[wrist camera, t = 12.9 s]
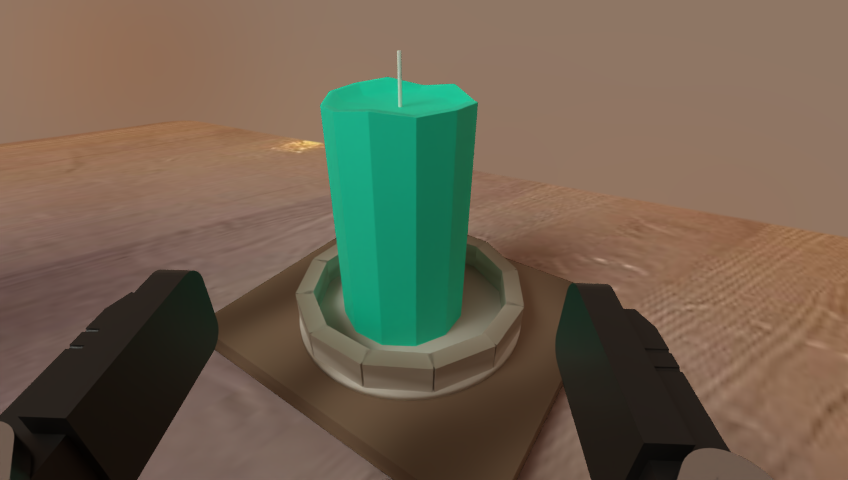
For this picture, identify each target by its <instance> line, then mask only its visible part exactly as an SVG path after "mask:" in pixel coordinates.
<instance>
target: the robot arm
mask: <svg viewBox="0 0 848 480" xmlns="http://www.w3.org/2000/svg"><path fill="white" fill-rule="evenodd" d="M218 334H219V327H218V321H217V318H216V315H215V313H214V310H213V307H212V304H211V301H210V298H209V295H208V292H207V289H206V287H205V284H204V281H203V278H202V276H201V275H200V274H199V273H198V272H197V271H187V270H157V271H155V272H154V273H153V274H152V275H151V276H150V277H149V278H148V279H147V280H146V281H145V282H144V283H143V284H142V285H141V286H140V287H139V288H138V289H137V290H136V291H135V293H133V292H131V293H129V294H128V295H126V296H125V297H123V298H122V299H120V300H118V301H117V302H115V303H114V304H112V305H110V306H109V307H107V308H106V309H104V310H103V311H102V313H101V314H100V315H99V316H98V317H97V318H96V319H95V320H94V321H93V322H92V323H91V324H90V325H89V326H88V327H87V328H86V332H82V333H81V334H80V335H79V336H78V337H77V338H76V339H75V340H74V341H73V342H72V343H71V344H70V348H69V349H65V350H64V351H63V352H62V353H61V354H60V355H59V356H58V357H57V358H56V359H55V360H54V361H53V362H52V363H51V364H50V365H49V366H48V367H47V368H46V369H45V370H44V371H43V372H42V373H41V374H40V375H39V376H38V377H37V378H36V379H35V380H34V381H33V382H32V383H31V385H30V386H29V387H28V388H27V389H26V390H25V391H24V392H23V393H22V394H21V395H20V396H19V397H18V398H17V399H16V400H15V401H14V402H13V403H12V404H11V405H10V406H9V407H8V408H7V409H6V410H5V411H4V412H3V413H2V414H1V415H0V480H137V479H138V477H139V476H140V474H141V472H142V470H143V469H144V467H145V465H146V464H147V462H148V460H149V459H150V457H151V455H152V454H153V452H154V450H155V449H156V447H157V445H158V444H159V442H160V440H161V439H162V437H163V435H164V433H165V432H166V430H167V428H168V427H169V425H170V423H171V422H172V420H173V418H174V417H175V415H176V413H177V412H178V410H179V408H180V407H181V405H182V403H183V402H184V400H185V398H186V396H187V395H188V393H189V391H190V390H191V388H192V386H193V385H194V383H195V381H196V380H197V378H198V376H199V375H200V373H201V371H202V370H203V368H204V366H205V365H206V363H207V361H208V359H209V358H210V356H211V354H212V353H213V351H214V349H215V347H216V344H217V340H218ZM555 353H556V360H557V364H558V368H559V371H560V375H561V378H562V381H563V385H564V388H565V392H566V395H567V399H568V402H569V405H570V409H571V412H572V416H573V419H574V422H575V426H576V429H577V433H578V436H579V439H580V443H581V446H582V450H583V453H584V457H585V460H586V463H587V467H588V470H589V474H590V477H591V480H774V479H773V478H772V477H770V476H769V475H768V474H767V473H766V472H765V471H763V470H762V469H761V468H759V467H758V466H756V465H755V464H753V463H752V462H750V461H748V460H747V459H745V458H743V457H741V456H739V455H737V454H734V453H731V451H730V450H729V449H728V447H727V446H726V444H725V442H724V441H723V439H722V437H721V436H720V434H719V432H718V431H717V429H716V427H715V426H714V424H713V422H712V421H711V419H710V417H709V416H708V414H707V412H706V411H705V409H704V407H703V406H702V404H701V402H700V401H699V399H698V397H697V396H696V394H695V392H694V390H693V389H692V387H691V385H690V384H689V382H688V380H687V379H686V377H685V375H684V374H683V372H680V370H679V368H680V367H679V365H678V364H677V362H676V360H675V359H674V357H673V355H672V354H671V353H669V349H668V347H667V345H666V344H665V342H664V340H663V339H662V337H661V335H660V334H659V332H658V330H657V328H656V327H655V326H654V325H652V324H651V323H650V322H649V321H648V320H647V319H646V318H644V317H643V316H642V315H641V314H640V313H639V312H638V311H636V310H635V309H623V307H622V306H621V304H620V302H619V300H618V298H617V296H616V294H615V292H614V291H613V289H612V287H611V286H610V285H608V284H586V283H571V284H570V285H569V287H568V290H567V293H566V297H565V301H564V305H563V309H562V313H561V317H560V321H559V325H558V329H557V333H556V339H555Z"/></svg>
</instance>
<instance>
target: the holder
mask: <svg viewBox="0 0 848 480" xmlns="http://www.w3.org/2000/svg"><path fill="white" fill-rule="evenodd" d="M571 283H573V282H570V281H568V280H565V279H562V278H559V277H557V276H554V275H551V274H548V273H546V272H543V271H540V270H537V269H534V268H532V267H529V266H526V265H523V264H521V263H518V262H515V261H512V260H510V259H507V258H504V257H503V256H502V255H501V254H500V253H499V252H498V251H496V250H495V249H494V248H493V247H492V246H491V245H490V244H489V243H488V242H486V241H483V240H480V239H477V238H475V237H472V236H469V235H467V246H466V259H465V271H464V284H463V297H462V309H461V316H460V318H459V319H458V320H457V321H456V323H455V324H454V325H453V326H452V328H451V329H450V330H449V331H448V332H447V334H446V335H444V336H442V337H439V338H436V339H434V340H431V341H429V342H426V343H423V344H421V345H418V346H393V345H381V344H379V343H377V342H375V341H373V340H371V339H369V338H367V337H365V336H363V335H361V334H359V333H357V332H356V331H355V329H354V327H353V325H352V324H351V322H350V320H349V318H348V316H347V314H346V312H345V307H344V298H343V290H342V282H341V273H340V265H339V257H338V249H337V240H336V238H335V239H333V240H332V241H330V242H329V243H327V244H325V245H324V246H322V247H320V248H319V249H317V250H316V251H314V252H312V253H311V254H309V255H308V256H306V257H304V258H303V259H301V260H300V261H298V262H296V263H295V264H293V265H292V266H290V267H288V268H287V269H285V270H284V271H282V272H280V273H279V274H277V275H276V276H274V277H272V278H271V279H269V280H267V281H266V282H264V283H263V284H261V285H259V286H258V287H256V288H255V289H253V290H251V291H250V292H248V293H247V294H245V295H243V296H242V297H240V298H239V299H237V300H235V301H234V302H232V303H231V304H229V305H227V306H226V307H224V308H223V309H221V310H219V311H218V312H216V313H215V315H216V318H217V321H218V327H219V334H218V340H217V344H216V347H215V350H216V351H218V352H219V353H220V354H222V355H223V356H224V357H226V358H227V359H229V360H230V361H231V362H233V363H234V364H235V365H237V366H238V367H240V368H241V369H242V370H244V371H245V372H246V373H248V374H249V375H251V376H252V377H253V378H255V379H256V380H257V381H259V382H260V383H262V384H263V385H264V386H266V387H267V388H268V389H270V390H271V391H272V392H274V393H275V394H277V395H278V396H279V397H281V398H282V399H283V400H285V401H286V402H288V403H289V404H290V405H292V406H293V407H294V408H296V409H297V410H299V411H300V412H301V413H303V414H304V415H305V416H307V417H308V418H310V419H311V420H312V421H314V422H315V423H316V424H318V425H319V426H321V427H322V428H323V429H325V430H326V431H327V432H329V433H330V434H331V435H333V436H334V437H336V438H337V439H338V440H340V441H341V442H342V443H344V444H345V445H347V446H348V447H349V448H351V449H352V450H353V451H355V452H356V453H358V454H359V455H360V456H362V457H363V458H364V459H366V460H367V461H369V462H370V463H371V464H373V465H374V466H375V467H377V468H378V469H380V470H381V471H382V472H384V473H385V474H386V475H388V476H389V477H391V478H392V479H393V480H517V478H518V476H519V474H520V472H521V470H522V468H523V466H524V463H525V461H526V459H527V457H528V455H529V453H530V451H531V449H532V447H533V445H534V443H535V441H536V439H537V437H538V435H539V433H540V431H541V429H542V426H543V424H544V422H545V420H546V418H547V416H548V414H549V412H550V410H551V408H552V406H553V404H554V402H555V400H556V398H557V396H558V394H559V391H560V389H561V387H562V385H563V381H562V378H561V375H560V371H559V368H558V364H557V360H556V353H555V339H556V333H557V329H558V325H559V321H560V317H561V313H562V309H563V305H564V301H565V297H566V293H567V290H568V287H569V285H570V284H571Z"/></svg>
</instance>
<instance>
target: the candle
mask: <svg viewBox="0 0 848 480" xmlns="http://www.w3.org/2000/svg"><path fill="white" fill-rule="evenodd" d="M397 58H398V59H397V61H398V79H395V78H390V77H385V78H379V79H374V80H368V81H363V82H357V83H353V84H350V85H347V86H344V87H341V88H338V89H335V90H332V91H329V92H328V94H327V96H326V97H325V99H324V100H323V102H322V104H321V105H320V107H321V116H322V124H323V133H324V141H325V149H326V158H327V166H328V174H329V182H330V191H331V199H332V207H333V216H334V224H335V232H336V240H337V249H338V257H339V265H340V273H341V282H342V290H343V298H344V307H345V312H346V314H347V316H348V318H349V320H350V322H351V324H352V325H353V327H354V329H355V331H356V332H357V333H359V334H361V335H363V336H365V337H367V338H369V339H371V340H373V341H375V342H377V343H379V344H381V345H393V346H418V345H421V344H423V343H426V342H429V341H431V340H434V339H436V338H439V337H442V336H444V335H446V334H447V332H448V331H449V330H450V329H451V328H452V326H453V325H454V324H455V323H456V321H457V320H458V319H459V318H460V316H461V309H462V297H463V284H464V271H465V259H466V246H467V233H468V221H469V208H470V196H471V183H472V170H473V158H474V157H473V156H474V144H475V132H476V120H477V106H478V103H477V102H476V101H474V100H473V99H472V98H471V97H469V96H468V95H467V94H466V93H465V92H464V91H463V90H461V89H460V88H459V87H458V86H457V85H455V84H440V85H420V84H416V83H412V82H407V81H402V72H401V69H402V68H401V51H400V50H398V51H397Z"/></svg>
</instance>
